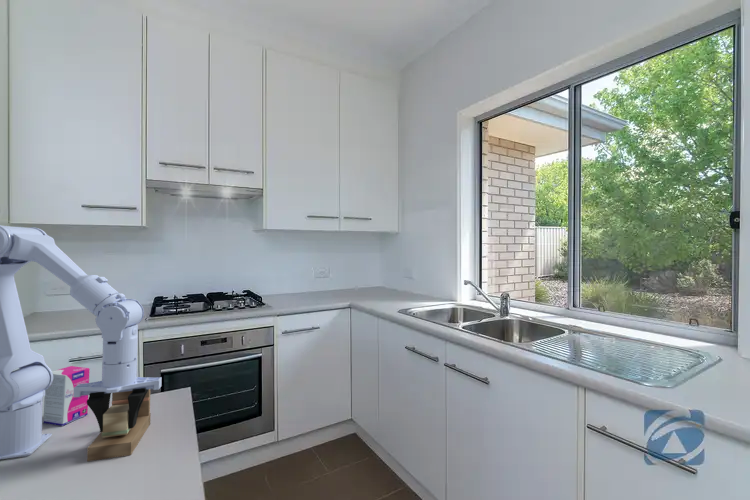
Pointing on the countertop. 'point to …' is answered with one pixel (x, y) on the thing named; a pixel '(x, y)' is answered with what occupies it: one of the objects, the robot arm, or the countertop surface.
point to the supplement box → (65, 396)
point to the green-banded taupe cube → (116, 421)
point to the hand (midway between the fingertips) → (118, 427)
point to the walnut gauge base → (121, 443)
